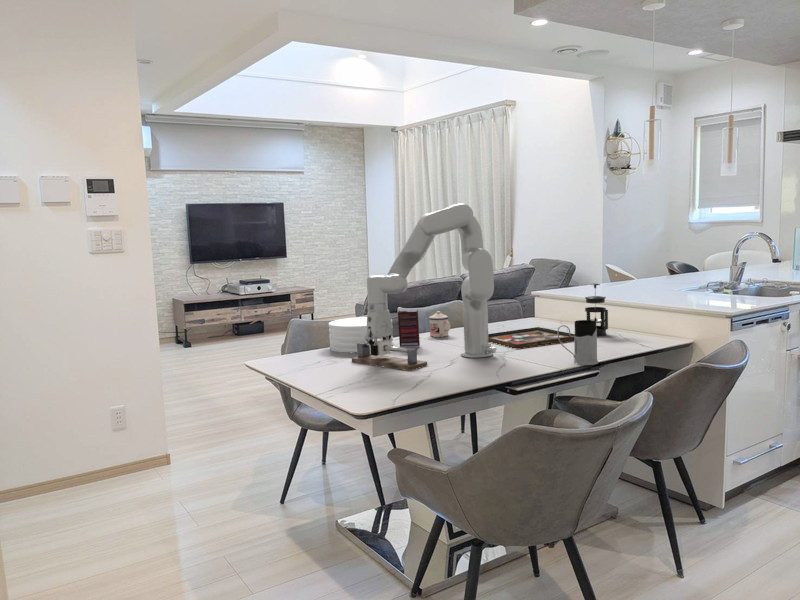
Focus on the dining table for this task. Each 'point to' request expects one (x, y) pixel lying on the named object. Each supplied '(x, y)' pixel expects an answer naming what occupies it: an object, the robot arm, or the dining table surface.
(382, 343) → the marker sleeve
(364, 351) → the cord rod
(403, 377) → the dining table surface
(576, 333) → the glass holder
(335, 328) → the plate stack
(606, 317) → the french press
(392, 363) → the base board
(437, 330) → the teacup with lid
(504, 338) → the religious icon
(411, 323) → the supplement box
